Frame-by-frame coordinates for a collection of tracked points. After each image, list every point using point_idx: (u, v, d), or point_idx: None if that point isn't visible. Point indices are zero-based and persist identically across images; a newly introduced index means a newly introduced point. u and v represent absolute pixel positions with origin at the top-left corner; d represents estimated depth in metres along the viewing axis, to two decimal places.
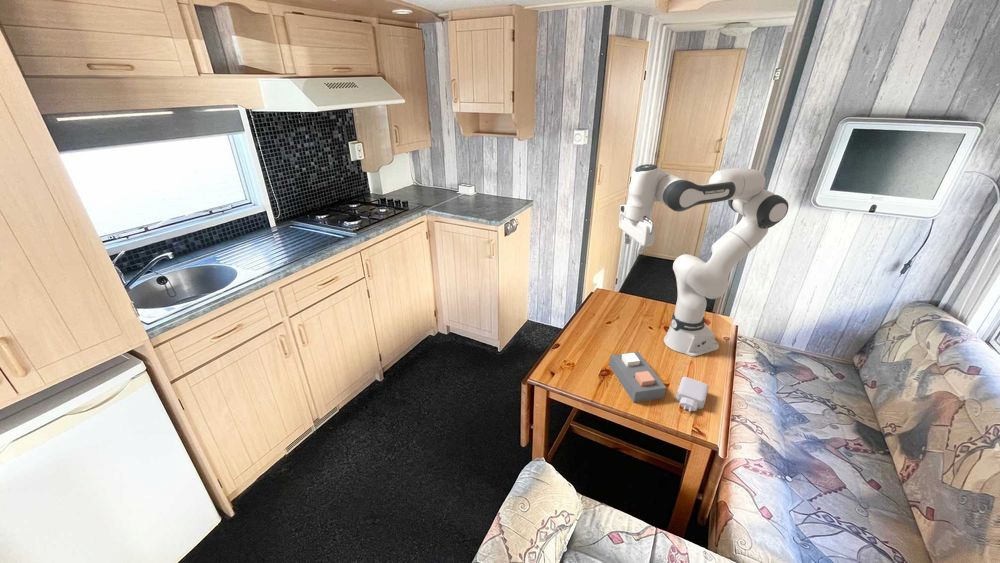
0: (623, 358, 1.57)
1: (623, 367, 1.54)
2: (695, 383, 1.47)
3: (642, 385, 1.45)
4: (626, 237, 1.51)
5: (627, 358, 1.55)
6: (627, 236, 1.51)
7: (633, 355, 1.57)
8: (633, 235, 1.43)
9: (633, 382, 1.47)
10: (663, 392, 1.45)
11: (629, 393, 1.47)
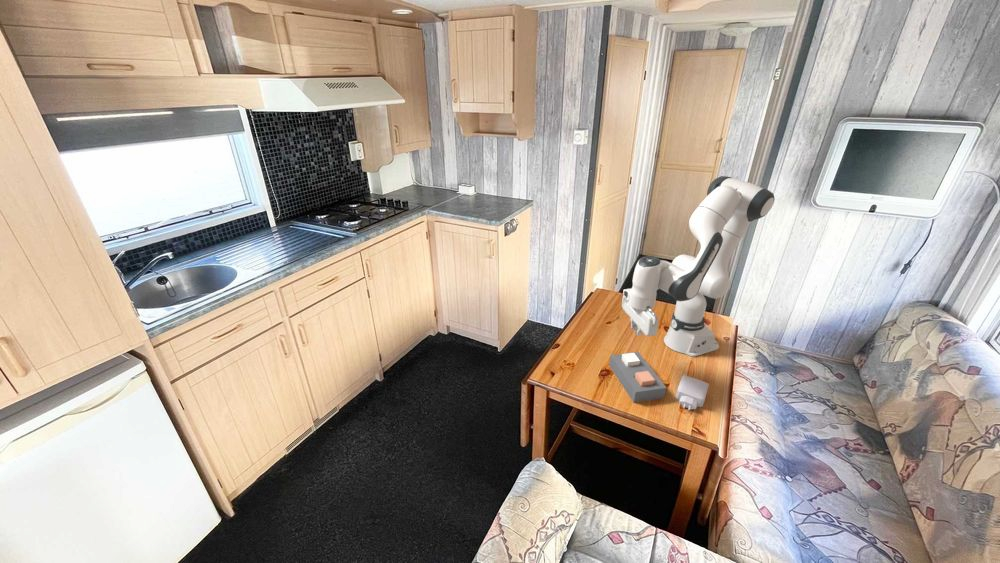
0: (623, 358, 1.57)
1: (623, 367, 1.54)
2: (695, 382, 1.47)
3: (642, 385, 1.45)
4: (633, 323, 1.51)
5: (627, 358, 1.55)
6: (634, 322, 1.51)
7: (633, 355, 1.57)
8: (636, 322, 1.46)
9: (633, 382, 1.47)
10: (663, 392, 1.45)
11: (629, 393, 1.47)
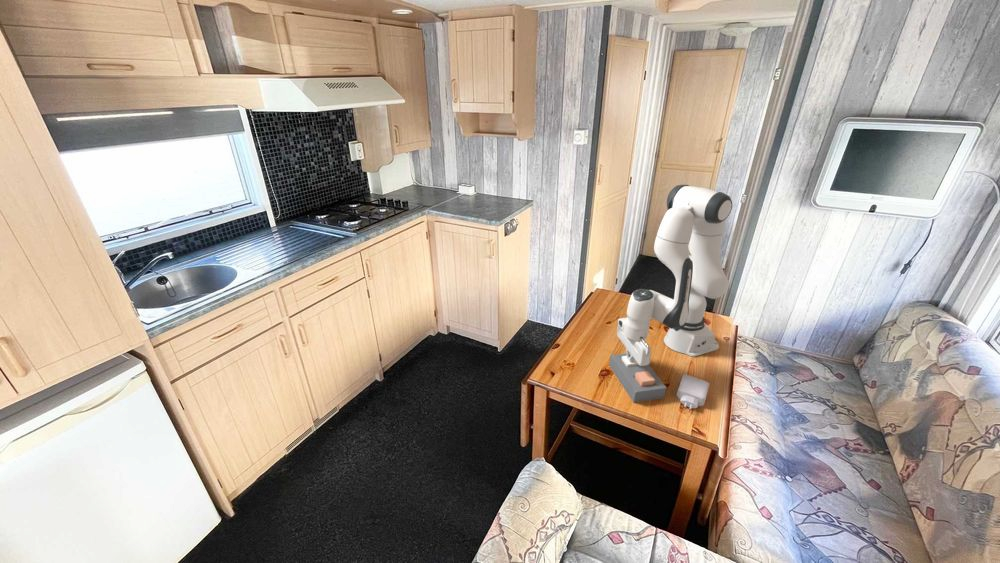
0: (623, 360, 1.58)
1: (623, 367, 1.54)
2: (696, 381, 1.48)
3: (642, 385, 1.45)
4: (628, 353, 1.56)
5: (627, 360, 1.56)
6: (629, 352, 1.56)
7: None
8: (630, 350, 1.52)
9: (633, 382, 1.47)
10: (663, 392, 1.45)
11: (629, 393, 1.47)
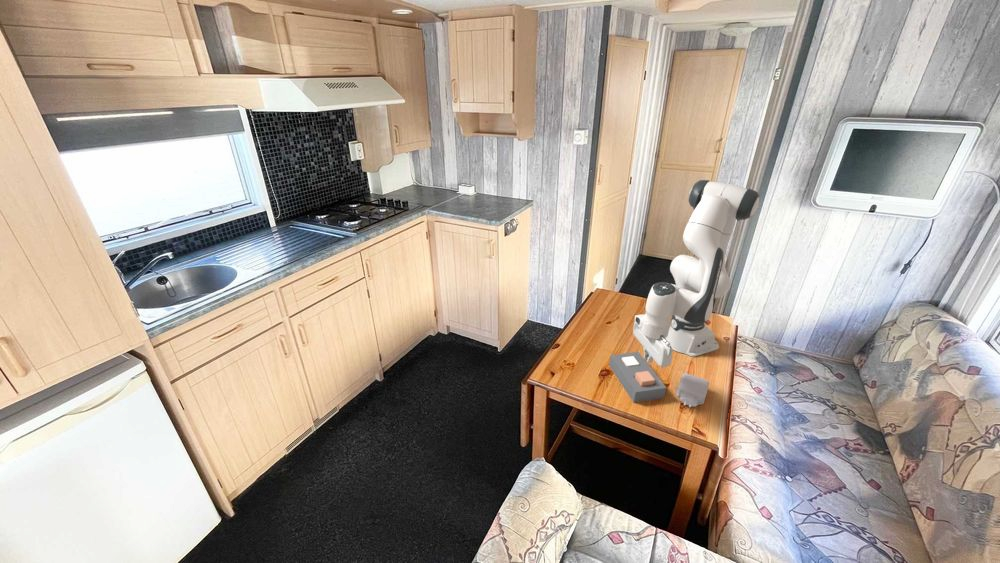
0: None
1: (623, 367, 1.54)
2: (695, 379, 1.48)
3: (642, 385, 1.45)
4: (646, 353, 1.43)
5: (626, 361, 1.56)
6: (647, 352, 1.43)
7: (632, 358, 1.58)
8: (648, 350, 1.38)
9: (633, 382, 1.47)
10: (663, 392, 1.45)
11: (629, 393, 1.47)
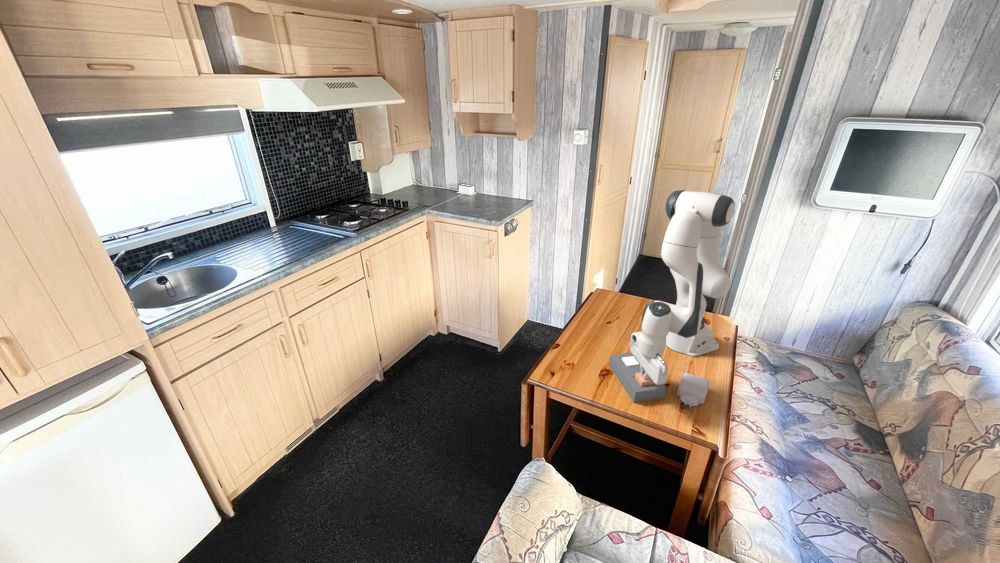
0: None
1: (623, 367, 1.54)
2: (696, 379, 1.49)
3: (642, 385, 1.45)
4: (642, 369, 1.46)
5: (626, 361, 1.56)
6: (644, 368, 1.46)
7: (632, 358, 1.58)
8: (644, 367, 1.42)
9: (633, 382, 1.47)
10: (663, 392, 1.45)
11: (629, 393, 1.47)
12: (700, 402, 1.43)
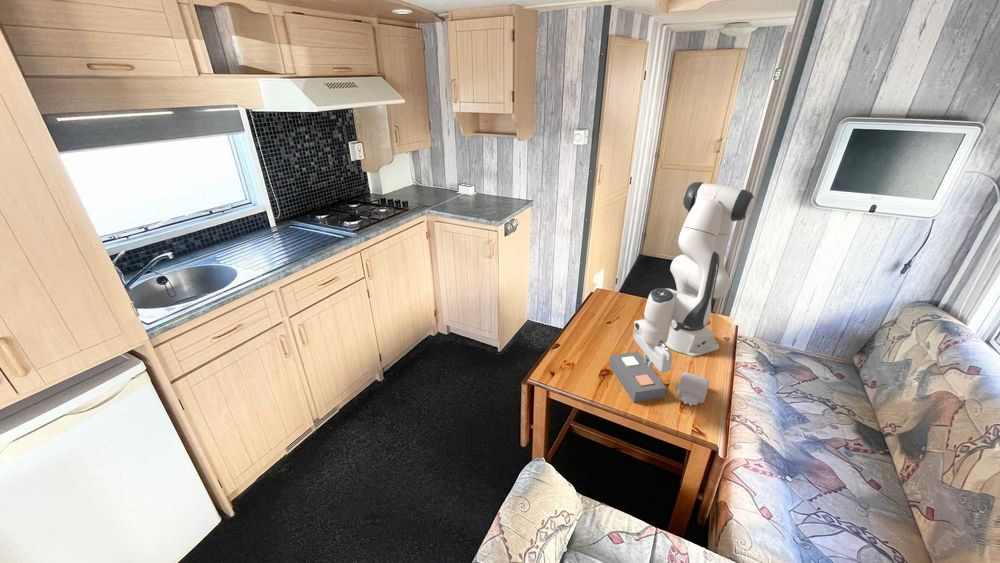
0: None
1: (623, 367, 1.54)
2: (696, 378, 1.49)
3: None
4: (646, 357, 1.44)
5: (626, 361, 1.56)
6: (647, 356, 1.44)
7: (632, 358, 1.58)
8: (648, 355, 1.40)
9: (633, 382, 1.47)
10: (663, 392, 1.45)
11: (629, 393, 1.47)
12: (700, 401, 1.43)
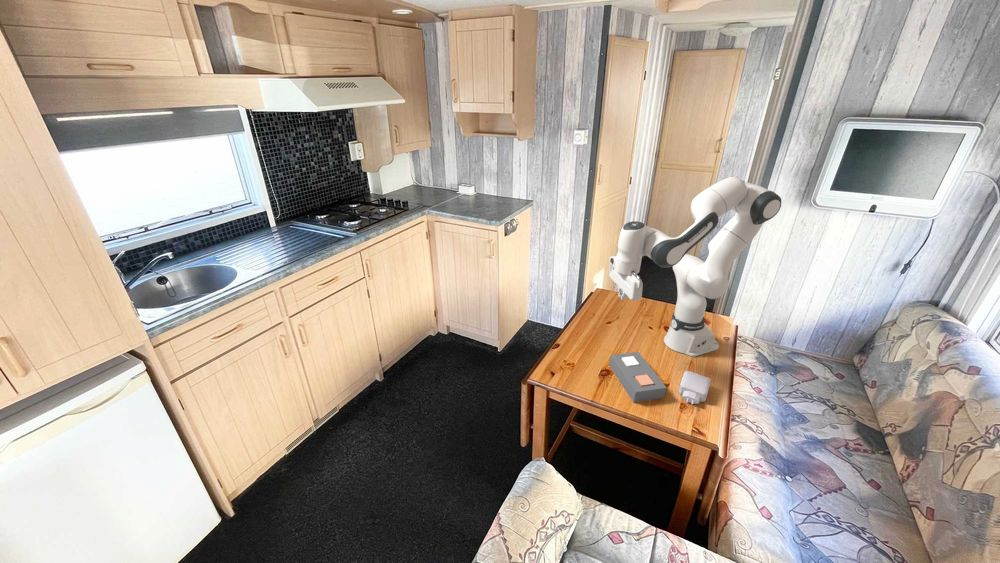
0: None
1: (623, 367, 1.54)
2: (697, 377, 1.50)
3: None
4: (620, 291, 1.52)
5: (626, 361, 1.56)
6: (621, 290, 1.52)
7: (632, 358, 1.58)
8: (621, 287, 1.48)
9: (633, 382, 1.47)
10: (663, 392, 1.45)
11: (629, 393, 1.47)
12: (702, 400, 1.44)
